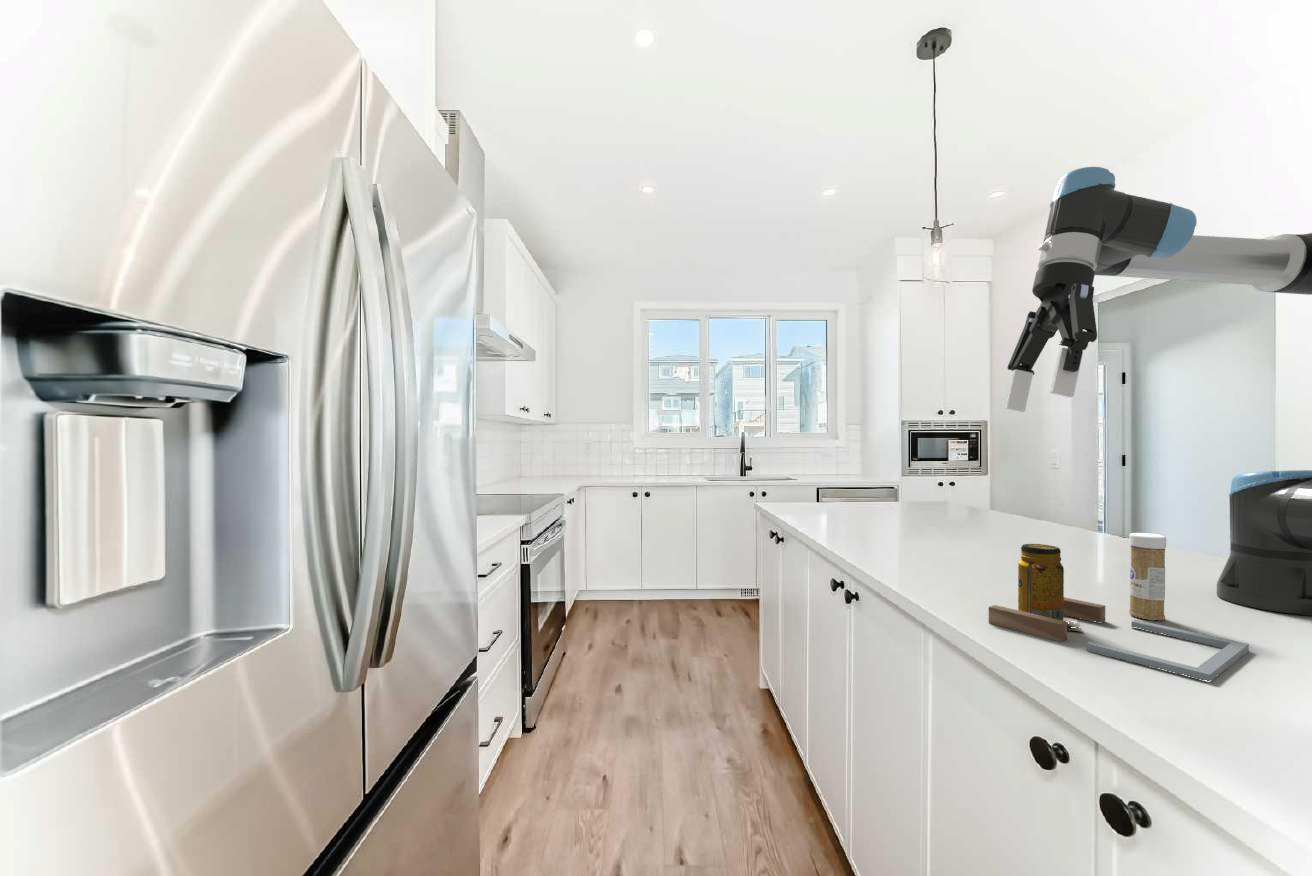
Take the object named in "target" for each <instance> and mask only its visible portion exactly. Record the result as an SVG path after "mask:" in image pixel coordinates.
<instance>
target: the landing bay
mask: <svg viewBox="0 0 1312 876" xmlns="http://www.w3.org/2000/svg"><path fill="white" fill-rule="evenodd" d="M1131 627H1137V628H1141V629H1144V630H1148V631H1152V632H1156V633H1163V634H1166V635H1170V636H1173V637H1172V638H1174V637H1176V638H1175V639H1178V638H1179V639H1180V640H1183V639H1187V640H1191V641H1190V642H1192V641H1195V642H1194V643H1196V642H1199V643H1198V644H1201V643H1202V644H1201V645H1206V646H1210V645H1212V646H1211V647H1215V648H1220V650H1219V651H1217V652H1216V653H1215V654H1213V655H1211V656H1210V657H1209V658H1207V660H1205V661H1204V662H1203V663H1201V664H1199V665H1198V666H1196V667H1195V666H1191V665H1188V664H1183V663H1180V662H1176V661H1170V660H1168V659H1165V658H1164V659H1163V658H1160V657H1156V656H1152V655H1148V654H1143V653H1140V652H1135V651H1132V650H1129V649H1124V648H1119V647H1117V646H1116V647H1115V646H1111V645H1107V644H1103V643H1099V642H1095V641H1091V640H1090V641H1089V642H1087V643H1086V652H1090V653H1094V654H1099V655H1102V656H1105V657H1109V656H1111V657H1110V658H1112V657H1115V658H1114V659H1116V658H1119V659H1118V660H1120V659H1123V660H1122V661H1124V660H1126V661H1125V662H1128V661H1130V662H1129V663H1132V662H1136V663H1139V664H1143V665H1147V666H1151V667H1154V668H1160V669H1164V670H1167V671H1171V672H1175V673H1177V674H1184V675H1187V676H1190V677H1194V678H1197V679H1201V680H1207V681H1210V680H1213V679H1214V678H1215V677H1216V676H1217V675H1219V674H1220V675H1221V674H1222V672H1223V671H1224V670H1225V671H1227V669H1229V668H1230V667H1231V666H1233V665H1234V664H1235V663H1236V662H1238V661H1239V660H1240V659H1242V657H1243V656H1245V655H1246V654H1248V653H1249V652H1250V644H1249V643H1246V642H1243V641H1237V640H1233V639H1227V638H1223V637H1218V636H1213V635H1209V634H1204V633H1200V632H1194V631H1190V630H1186V629H1180V628H1176V627H1170V626H1168V625H1161V624H1157V623H1152V622H1146V621H1145V620H1144V621H1143V620H1139V619H1134V620H1131ZM1131 627H1130V628H1131ZM1152 632H1151V633H1152ZM1156 633H1155V634H1156ZM1170 636H1169V637H1170ZM1187 640H1186V641H1187ZM1139 664H1138V665H1139ZM1143 665H1142V666H1143ZM1147 666H1146V667H1147ZM1151 667H1150V668H1151ZM1154 668H1153V669H1154ZM1225 671H1224V672H1225ZM1177 674H1176V675H1177ZM1220 675H1219V676H1220ZM1216 678H1217V677H1216ZM1216 678H1215V679H1216ZM1215 679H1214V680H1215ZM1214 680H1213V681H1214Z"/></svg>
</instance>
